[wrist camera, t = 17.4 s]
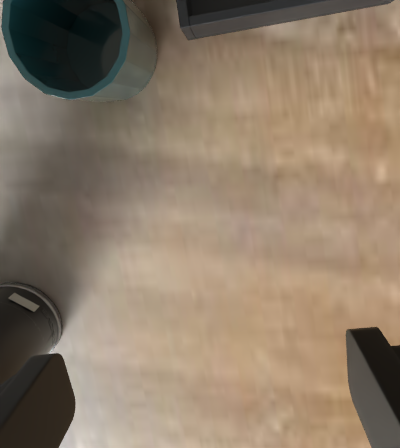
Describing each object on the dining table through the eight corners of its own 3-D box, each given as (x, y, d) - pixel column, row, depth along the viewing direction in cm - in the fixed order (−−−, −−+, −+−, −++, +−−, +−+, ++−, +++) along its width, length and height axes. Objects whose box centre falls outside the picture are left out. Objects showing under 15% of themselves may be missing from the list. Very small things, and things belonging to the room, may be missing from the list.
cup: (77, 108, 34) (22, 108, 25) (54, 8, 32) (-16, -31, 23) (165, 93, 33) (140, 87, 24) (147, -11, 31) (113, -59, 22)
